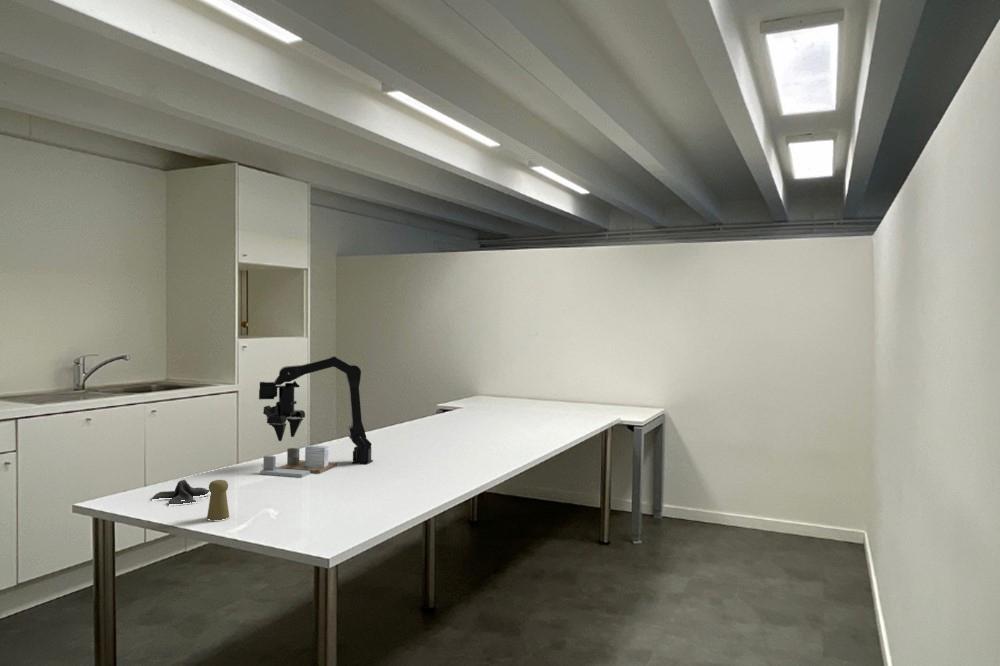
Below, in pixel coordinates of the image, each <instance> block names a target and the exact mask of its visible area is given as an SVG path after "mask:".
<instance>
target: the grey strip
mask: <svg viewBox="0 0 1000 666" xmlns="http://www.w3.org/2000/svg"><path fill="white" fill-rule="evenodd" d="M276 457H277V456H276V455H264V456H263V468H262V470H260V472H259V474H260V475H263V474H267V475H266V476H276V475H280V476H279V477H289V476H291V478H292V477H293V478H304V477H306V475H307V476H309V475H310V474H311V473H310V471H307V470H294V469H280V468H279V467H276V460H277V459H276Z"/></svg>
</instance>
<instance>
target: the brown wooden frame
mask: <svg viewBox="0 0 1000 666" xmlns="http://www.w3.org/2000/svg"><path fill="white" fill-rule="evenodd" d="M286 451H287V453H286V456H287V458H286V459H287V460H286V462H287V464H284V465H282V466H279V467H278V468H280V469H294V470H307V471H310V474H318V473H319V474H323V473H325V472H327V471H329V470H331V469H334V468H336V467H337V466H338V462H329V461H328V466H326V467H321V468H319V469H312V468H306V466H305V459H304V460H303V459H301V460H300V448H298V447H297V448H296V447H289V448H287V450H286ZM335 466H336V467H335Z"/></svg>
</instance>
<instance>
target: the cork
mask: <svg viewBox="0 0 1000 666" xmlns="http://www.w3.org/2000/svg"><path fill="white" fill-rule="evenodd" d="M228 488H229V482H228V481H227V480H226V479H215V480H211V481H210V483H209V484H208V490H209V491H210V492H211V494H209V496H210V498H209V503H208V507H207V508H208V509H207V514H206V515H207V517H206V520H207V519H210V520H222V519H226V518H228V517H229V518H230V512H229V504H228V503H229V502H228V496H227V491H228Z"/></svg>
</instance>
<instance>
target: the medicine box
mask: <svg viewBox="0 0 1000 666" xmlns="http://www.w3.org/2000/svg"><path fill="white" fill-rule="evenodd" d="M304 448H305V449H304V450H305V452H304V454H305V455H304V461H305V466H306V468H312V469H319V468H321V467H326V466H328V462H329V457H330V456H329V454H330V453H329V451H330V450H329V448H330V447H329V445H317V444H316V445H315V444H309V445H307V446H305V447H304Z"/></svg>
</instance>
